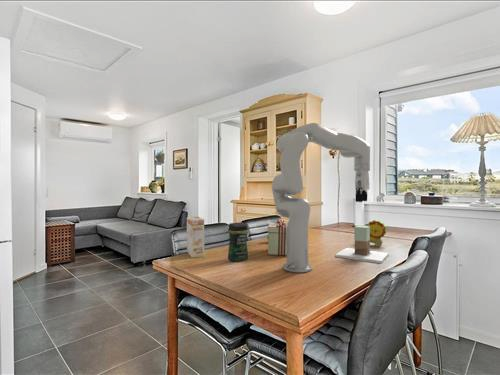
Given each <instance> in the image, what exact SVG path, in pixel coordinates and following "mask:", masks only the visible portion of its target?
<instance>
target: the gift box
mask: <svg viewBox="0 0 500 375" xmlns="http://www.w3.org/2000/svg"><path fill="white" fill-rule="evenodd" d="M287 224H288V222H285V220H284V219H277V220H276V222H275V223H274V222H269V223H268V226H267V233H268V234H267V236H268V239H267V254H268V255H275V256H277V255H278V256H287V233H286V229H287Z"/></svg>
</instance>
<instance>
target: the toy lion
mask: <svg viewBox="0 0 500 375" xmlns="http://www.w3.org/2000/svg"><path fill="white" fill-rule="evenodd" d="M365 226H370V243H372V244H374V245H375V246H376V247H382V244H383V240H382V238H383V237H385V236H386V234H387V226H386V225H385V223H384V222H381V221H380V220H376V219H373V220H370V221H369V222H368V223H366V225H365Z"/></svg>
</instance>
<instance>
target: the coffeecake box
mask: <svg viewBox="0 0 500 375" xmlns="http://www.w3.org/2000/svg"><path fill="white" fill-rule="evenodd" d="M186 252H187V254H188V255H189V256H190V257H191V258H193V259H194V258H201V257H202V258H205V257H206V256H205V219H204V218H202V217H200V216H187V217H186Z"/></svg>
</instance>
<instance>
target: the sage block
mask: <svg viewBox="0 0 500 375" xmlns="http://www.w3.org/2000/svg"><path fill="white" fill-rule="evenodd" d="M353 237H354V238H353V239H354V242H355V241H365V242H367V241H369V240H370V226H366V225H360V224H359V225H357V224H356V225H355V226H354V236H353Z"/></svg>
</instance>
